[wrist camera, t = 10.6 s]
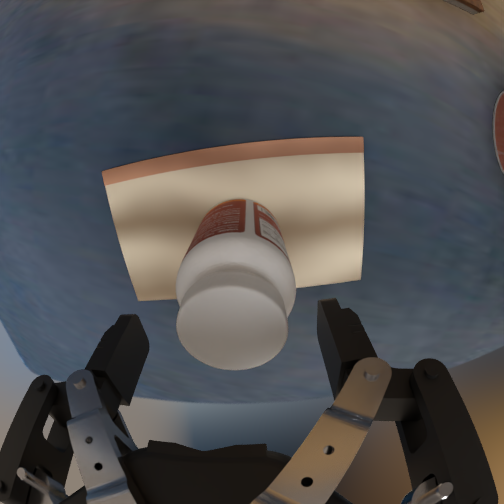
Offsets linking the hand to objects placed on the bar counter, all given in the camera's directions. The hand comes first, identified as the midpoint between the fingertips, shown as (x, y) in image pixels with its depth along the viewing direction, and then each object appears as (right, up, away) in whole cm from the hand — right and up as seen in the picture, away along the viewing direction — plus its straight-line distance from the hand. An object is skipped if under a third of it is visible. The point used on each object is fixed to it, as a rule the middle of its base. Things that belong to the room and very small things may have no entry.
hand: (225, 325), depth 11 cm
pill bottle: (0, +4, +10) cm, 11 cm away
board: (0, +5, +10) cm, 11 cm away
